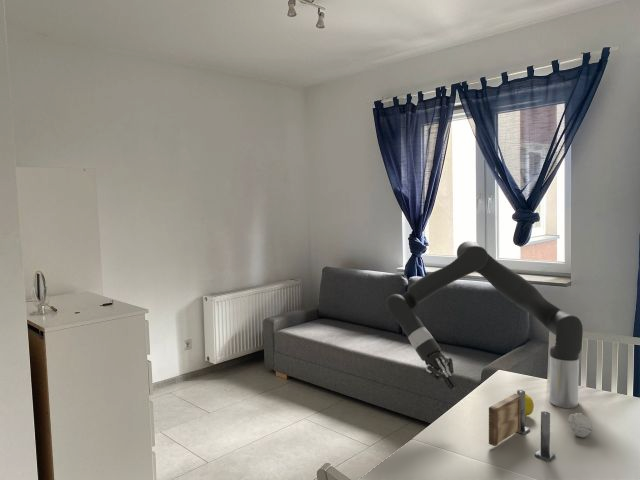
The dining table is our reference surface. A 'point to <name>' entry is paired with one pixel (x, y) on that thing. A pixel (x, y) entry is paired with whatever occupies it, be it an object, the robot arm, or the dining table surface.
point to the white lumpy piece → (580, 425)
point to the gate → (504, 419)
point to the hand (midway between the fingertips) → (454, 388)
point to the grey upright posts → (545, 430)
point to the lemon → (528, 405)
